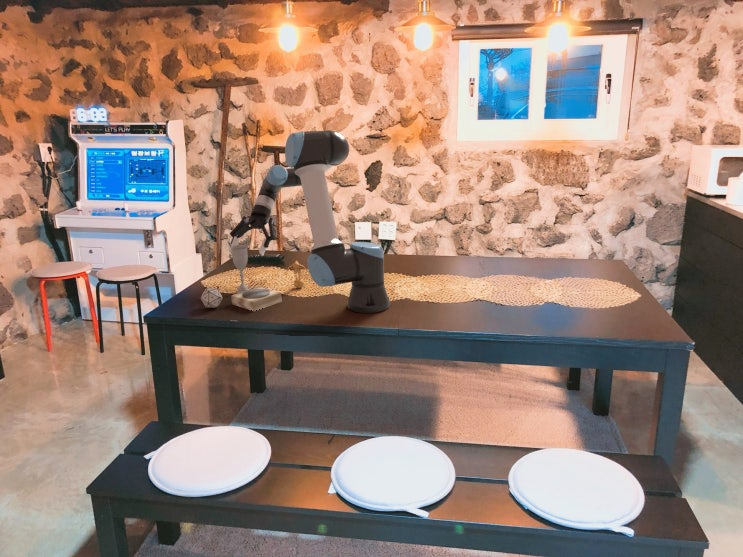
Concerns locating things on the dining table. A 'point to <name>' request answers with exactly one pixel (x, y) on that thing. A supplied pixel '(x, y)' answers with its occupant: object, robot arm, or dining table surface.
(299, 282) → the figurine
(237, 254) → the chalice
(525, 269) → the dining table surface
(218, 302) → the game die
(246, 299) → the pedestal
